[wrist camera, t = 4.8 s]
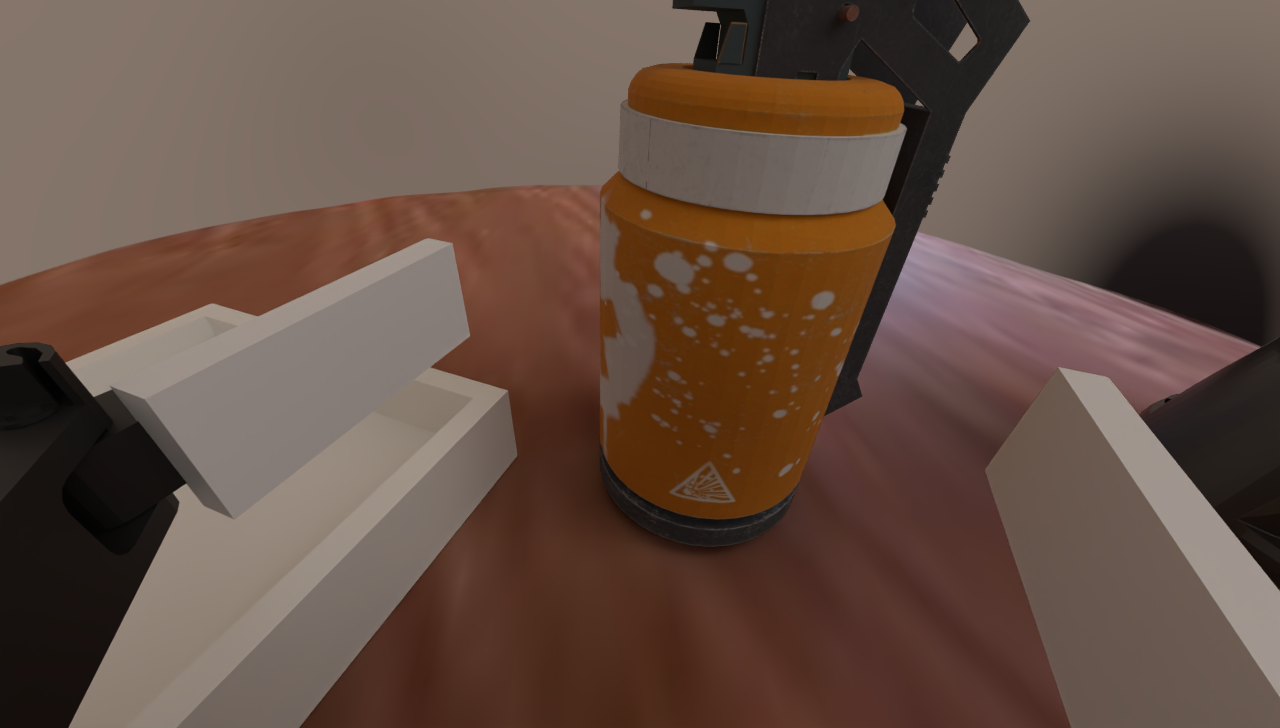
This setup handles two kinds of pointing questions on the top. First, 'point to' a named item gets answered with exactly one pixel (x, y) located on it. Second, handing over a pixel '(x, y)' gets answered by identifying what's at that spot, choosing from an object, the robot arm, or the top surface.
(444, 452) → the tray
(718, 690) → the top surface
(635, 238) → the canister
